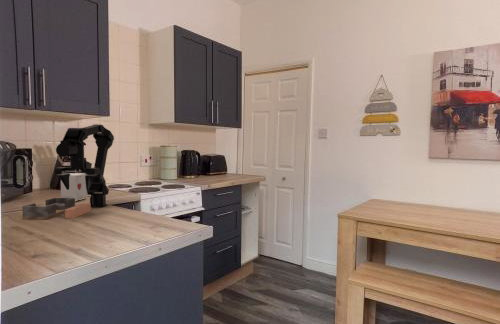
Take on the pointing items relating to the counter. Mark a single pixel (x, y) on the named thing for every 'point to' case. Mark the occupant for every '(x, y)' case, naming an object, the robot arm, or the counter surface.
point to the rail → (77, 210)
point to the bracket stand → (48, 208)
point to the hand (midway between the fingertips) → (77, 189)
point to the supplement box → (74, 187)
